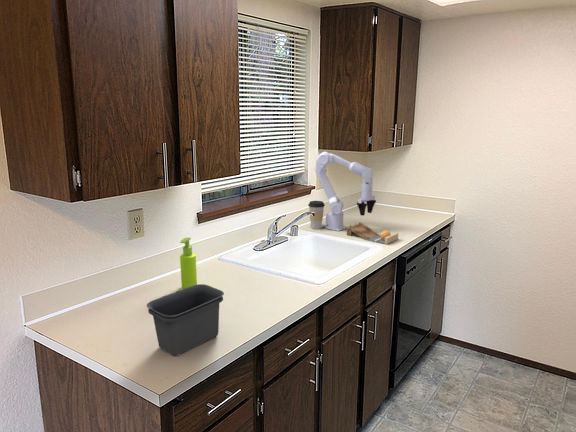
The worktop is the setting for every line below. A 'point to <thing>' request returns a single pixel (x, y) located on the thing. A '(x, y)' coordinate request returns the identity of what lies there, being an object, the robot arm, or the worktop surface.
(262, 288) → the worktop surface
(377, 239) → the mat
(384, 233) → the ball
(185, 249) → the soap dispenser
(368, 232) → the ramp
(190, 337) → the storage bin
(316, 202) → the coffee cup
